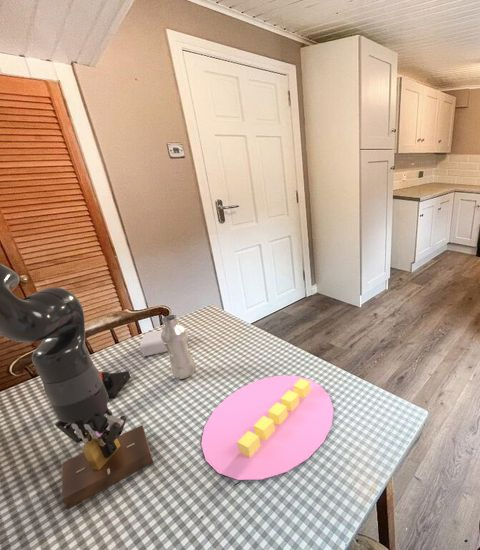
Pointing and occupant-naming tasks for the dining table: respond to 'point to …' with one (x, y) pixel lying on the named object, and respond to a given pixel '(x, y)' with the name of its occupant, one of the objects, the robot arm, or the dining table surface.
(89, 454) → the lock knob
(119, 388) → the switch block
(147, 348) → the charger
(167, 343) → the plastic bottle
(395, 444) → the dining table surface
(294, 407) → the platter
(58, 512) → the dining table surface
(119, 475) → the plate
